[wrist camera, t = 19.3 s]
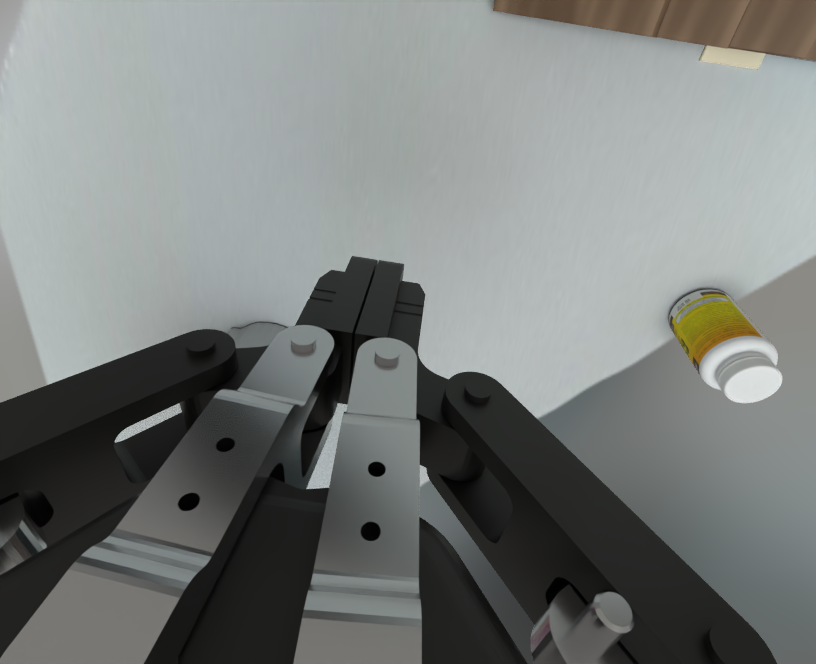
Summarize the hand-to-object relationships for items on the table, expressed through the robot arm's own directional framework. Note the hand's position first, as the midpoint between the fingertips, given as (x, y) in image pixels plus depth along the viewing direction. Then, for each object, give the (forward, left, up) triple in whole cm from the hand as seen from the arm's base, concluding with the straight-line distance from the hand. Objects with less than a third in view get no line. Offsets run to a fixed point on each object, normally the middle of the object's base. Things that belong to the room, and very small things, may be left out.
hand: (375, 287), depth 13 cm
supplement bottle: (+28, -14, -27) cm, 41 cm away
